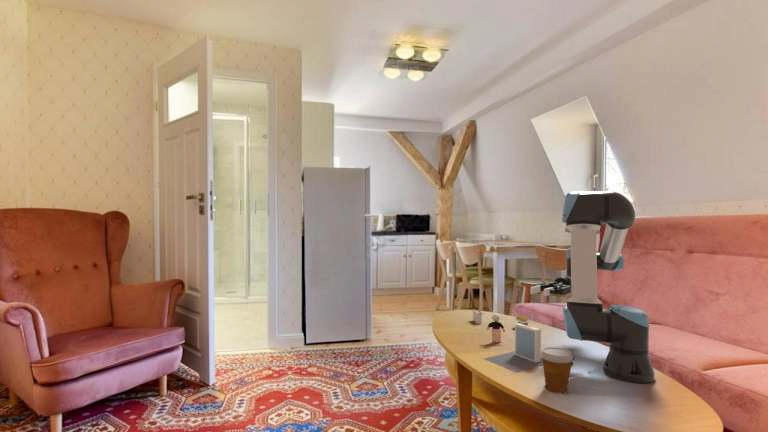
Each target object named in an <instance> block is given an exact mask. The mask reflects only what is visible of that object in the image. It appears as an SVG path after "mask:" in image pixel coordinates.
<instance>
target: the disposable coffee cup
mask: <svg viewBox="0 0 768 432" xmlns="http://www.w3.org/2000/svg"><path fill="white" fill-rule="evenodd" d="M541 349H542V350H541V358H542V359H543V365H542V367H543V373H544V381H545V382H544V383H545V389H546V390H547V391H548V392H551V393H554V394H566V393H567V392H568V389H569V382H570V374H571V368H572V361H573V360H574V356H573V354H572V352H571V350H569V349H565V348H562V347H556V346H555V347H554V346H551V347H550V346H549V347H547V346H546V347H544V348H541Z"/></svg>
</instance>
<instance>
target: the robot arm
mask: <svg viewBox="0 0 768 432" xmlns="http://www.w3.org/2000/svg"><path fill="white" fill-rule="evenodd" d="M562 207H563V209H562V216H561V222H562V223H564V224H565V228H566V229H567V230H568V231H569V232H570V247H567V249H566V258H565V259H566V275H563V276H560V277H557V278H556V279H554V281H552V282H548V283H547V282H546V281H543V282H539V283H538V282H537V283H535V284H534V283H533V286H530V289H529V291H530V295H535V294H540V293H541V292H543V297H548V296H552V295H560V296H566V295H569V296H570V294H571V296H570V297H569V298H568V299H567V300H566V304H565V305H563V306H562V318H563V323H564V329H565V333H566V334H565V335H566V336H567V337H568V338H569V339H572V340H578V341H581V342H582V341H583V342H584V341H587V342H588V341H589V342H595V343H596V342H598V343H608V344H609V350H608V353H607V355H606V356H605V357H606V358H605V360H604V363H603V372H604V373H605V374H606V375H607V376H609V377H611V378H614V379H616V380H620V381H623V382H629V383H635V384H648V383H653V382H654V381H655V376H656V373H655V370H654V367H653V364H652V361H651V359H650V356H649V355H650V354H649V349H650V348H649V344H650V340H649V338H650V337H649V336H650V333H649V331H650V329H649V328H650V322H649V316H648V314H647V313H646V312H645V311H644V310H642V309H639V308H637V307H636V308H635V307H634V306H633V307H632V306H629V305H623V304H617V303H616V304H615V303H613V304H610V305H609V307H608V308H603V305H604V304H603V302H602V301H601V300H600V299H599V297H598V271H609V272H610V271H611V272H615V271H618V272H619V271H622V270H623V269H624V265H625V264H624V263H625V261H624V256H623V254H622V251H623V247H624V245H625V240H626V237H627V235H628V232H629V229H631V228H632V227H633V226H634V223H635V221H636V220H635V219H636V211H635V207H634V206H633V203H631V201H630V200H629V198H627V197H626V196H624V194H621V193H619V192H617V191H614V190H613V191H612V190H605V191H604V190H602V191H601V190H598V191H596V190H592V191H591V190H588V191H586V190H585V191H584V190H578V191H569V192H567V193H566V195H565V197H564V202H563V206H562ZM603 223H605V224H606V225H605V229H604V232H603V238H602V241H601V246H600V250H599V252H597V231H599V230H600V229H601V227H602V224H603Z"/></svg>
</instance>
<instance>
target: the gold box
mask: <svg viewBox="0 0 768 432" xmlns="http://www.w3.org/2000/svg"><path fill="white" fill-rule="evenodd" d="M514 321H517V324H518V323H521V324H524V325H528V324H531V321H530V320H528V318H527V317H526V316H523V315H521V314H520V315H518V314H517V315H516V316H515V317H514ZM528 326H529V325H528Z"/></svg>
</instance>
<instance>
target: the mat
mask: <svg viewBox="0 0 768 432" xmlns="http://www.w3.org/2000/svg"><path fill="white" fill-rule="evenodd" d="M483 360H485V361H488V362H491V363H493V364H495V365H497V366H500V367H503V368H504V369H507V370H510V371H512V372H514V373H520V372H523V371H524V372H525V371H527V370H532V369H535V368H539V367H543V359H542V357H541V361H540V362H537V363H536V362H533V361H530V360H528V359H525V358H522V357H520V356H517V355H515V350H514V351H510V352H505V353H502V354H497V355H493V356H489V357H484V358H483Z"/></svg>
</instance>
